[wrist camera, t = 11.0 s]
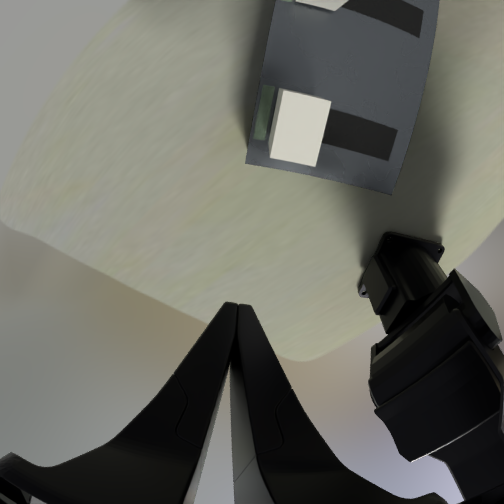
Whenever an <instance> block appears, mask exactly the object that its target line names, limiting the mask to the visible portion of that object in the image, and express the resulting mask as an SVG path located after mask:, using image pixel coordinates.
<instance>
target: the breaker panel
mask: <svg viewBox="0 0 504 504" xmlns="http://www.w3.org/2000/svg"><path fill="white" fill-rule="evenodd" d="M438 9H439V0H348V1H347V2H346V3H344V4H343V5H342V6H341V7H339V8H338V9H337V10H336V11H333V10H329V9H326V8H322V7H318V6H314V5H310V4H306V3H301V2H297V1H296V0H276V2H275V7H274V11H273V16H272V21H271V26H270V31H269V36H268V41H267V46H266V51H265V57H264V62H263V67H262V72H261V77H260V83H259V88H258V94H257V99H256V105H255V110H254V116H253V121H252V127H251V132H250V138H249V144H248V150H247V155H246V161H245V164H251V165H257V166H263V167H269V168H274V169H280V170H285V171H290V172H295V173H300V174H305V175H310V176H315V177H319V178H324V179H328V180H333V181H337V182H341V183H346V184H350V185H354V186H358V187H362V188H366V189H370V190H374V191H377V192H381V193H385V194H389V195H392V192H393V190H394V187H395V184H396V181H397V179H398V176H399V173H400V170H401V167H402V164H403V161H404V158H405V155H406V152H407V148H408V145H409V142H410V139H411V135H412V132H413V129H414V125H415V122H416V118H417V114H418V111H419V107H420V103H421V99H422V95H423V91H424V87H425V82H426V78H427V74H428V69H429V64H430V59H431V54H432V49H433V43H434V37H435V31H436V24H437V17H438ZM279 88H282V89H287V90H292V91H297V92H301V93H306V94H310V95H314V96H318V97H321V98H324V99H326V100H329V101H331V105H330V109H329V114H328V118H327V122H326V126H325V130H324V134H323V138H322V142H321V146H320V150H319V154H318V158H317V162H316V166H315V167H314V166H309V165H304V164H299V163H295V162H290V161H284V160H279V159H274V158H270V154H269V144H268V142H269V137H270V132H271V126H272V121H273V116H274V111H275V106H276V101H277V96H278V91H279Z"/></svg>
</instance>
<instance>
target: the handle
mask: <svg viewBox="0 0 504 504" xmlns="http://www.w3.org/2000/svg"><path fill="white" fill-rule="evenodd" d="M330 105H331V101H329V100H326V99H324V98H321V97H318V96H314V95H310V94H306V93H301V92H297V91H292V90H287V89H282V88H279V91H278V96H277V101H276V106H275V111H274V116H273V121H272V126H271V132H270V137H269V142H268V144H269V154H270V158H274V159H279V160H284V161H290V162H295V163H299V164H304V165H309V166H314V167H315V166H316V162H317V158H318V154H319V150H320V146H321V142H322V138H323V134H324V130H325V126H326V122H327V118H328V114H329V109H330Z"/></svg>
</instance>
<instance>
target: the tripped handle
mask: <svg viewBox="0 0 504 504" xmlns="http://www.w3.org/2000/svg"><path fill="white" fill-rule="evenodd" d="M296 1H297V2H301V3H306V4H310V5H314V6H318V7H322V8H326V9H329V10H333V11H336V10H337V9H338V8H339V7H341V6H342V5H343V4H344V3H346V2H347V1H348V0H296Z"/></svg>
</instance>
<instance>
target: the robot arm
mask: <svg viewBox="0 0 504 504" xmlns="http://www.w3.org/2000/svg"><path fill="white" fill-rule="evenodd" d="M389 237H391V238H390V239H389V240H387V239H388V238H389ZM439 249H440V250H439ZM444 250H445V248H444V246H443V245H442V244H440V243H436V242H432V241H428V240H424V239H420V238H416V237H411V236H407V235H403V234H398V233H394V232H386V233H385V234H384V235H383V237H382V239H381V242H380V244H379V246H378V248H377V251H376V253H375V255H374V256H373V257H372V259H371V261H370V263H369V266H368V268H367V270H366V272H365V274H364V276H363V278H362V283H361V285H360V287H359V289H358V293H359V296H360V297H364V298H369V299H370V302H371V304H372V307H373V310H374V312H375V314H376V315H379V316H380V319H381V321H382V324H383V327H384V330H385V332H386V334H388V335H387V336H386V337H385V338H384V339H383V340H382V341H380V342H379V343H376V344H375V345H373V346H372V347H371V364H370V379H369V380H368V384H369V388H370V395H371V398H372V401H373V403H374V405H375V406H376V409H375V410H374V412H375V414H376V415H377V416H378V417H379V418H380V419H381V420H382V421H383V422H384V423H385V425H386V427H387V428H388V430H389V431H390V433H391V435H392V437H393V439H394V442H395V444H396V446H397V449H398V451H399V454H400V455H402V456H403V457H404V458H405V459H407V460H408V461H409V462H414V461H416V460H418V459H420V458H422V457H424V456H426V455H429V456H431V457H433V458H435V459H438V460H440V461H442V462H444V463H445V464H446V465H447V467H448V468H449V470H450V472H451V474H452V476H453V478H454V480H455V482H456V484H457V486H458V488H459V490H460V492H461V494H462V497H463V499H464V501H463V502H461V503H458V504H504V354H503V353H502V351H501V350H500V347H499V346H498V344H499V343H500V342H501V341H502V336H501V332H500V329H499V326H498V323H497V319H496V316H495V313H494V312H493V310H492V308H491V307H490V305H489V304H488V303H487V301H486V300H485V298H484V297H483V296H482V294H481V293H480V292H479V291H478V290H477V289H476V288H475V287H474V286H473V285H472V284H471V283H470V282H469V281H468V280H467V279H466V278H464V277H463V276H462V275H461V274H460V273H459V272H458V271H457V270H456V269H453V270H452V271H451V272H450V274H449V277H448V278H447V276H446V275H445V273H444V272H443V270H442V269H441V267H440V266H439V264H438V262H439V260H440V258H441V256H442V255H443V253H444ZM363 291H365V292H363ZM229 365H230V408H231V437H232V460H233V461H232V462H233V482H234V501H235V504H448V503H447V501H445V500H444V499H443V498H442V497H440V496H439V495H438V494H436V493H434V492H433V493H429V494H426V495H424V496H421V497H418V498H414V499H405V498H401V497H398V496H395V495H393V494H391V493H389V492H388V491H386V490H384V489H382V488H380V487H378V486H377V485H375V484H373V483H371V482H369V481H368V480H366V479H364V478H363V477H361V476H359V475H357V474H356V473H354V472H353V471H351V470H349V469H348V468H347V467H346V466H344V465H343V464H342V463H341V462H340V461H339V459H338V458H337V457H336V456H335V454H334V453H333V452H332V450H331V449H330V448H329V446H328V445H327V443H326V442H325V441H324V439H323V438H322V436H321V435H320V434H319V432H318V431H317V429H316V428H315V427H314V425H313V423H312V422H311V420H310V419H309V417H308V416H307V414H306V413H305V411H304V409H303V408H302V406H301V404H300V402H299V400H298V398H297V397H296V394H295V392H294V391H293V389H291V385H290V383H289V381H288V379H287V377H286V375H285V373H284V371H283V369H282V367H281V365H280V363H279V361H278V359H277V357H276V355H275V353H274V351H273V349H272V347H271V345H270V343H269V341H268V338H267V336H266V334H265V332H264V330H263V328H262V326H261V324H260V322H259V320H258V318H257V316H256V314H255V312H254V310H253V308H252V306H251V305H247V304H239V305H238V304H237V303H233V302H225V303H224V304H223V305H222V307H221V308H220V309H219V311H218V312H217V314H216V315H215V316H214V318H213V319H212V321H211V322H210V323H209V325H208V326H207V328H206V329H205V330H204V332H203V333H202V334H201V336H200V337H199V339H198V340H197V341H196V343H195V344H194V345H193V347H192V348H191V350H190V351H189V352H188V354H187V355H186V356H185V358H184V359H183V361H182V362H181V363H180V365H179V366H178V368H177V369H176V370H175V372H174V374H172V376H171V377H170V378H169V380H168V381H167V382H166V384H165V385H164V386H163V387H162V389H161V390H160V391H159V393H158V394H157V395H156V396H155V397H154V398H153V400H152V401H151V402H150V403H149V404H148V405H147V406H146V407H145V408H144V409H143V410H142V411H141V412H140V413H139V414H138V415H137V416H136V417H135V418H134V419H133V420H132V421H131V422H130V423H129V424H128V425H127V426H126V427H125V428H124V429H123V430H122V431H121V432H120V433H119V434H117V435H116V436H115V437H114V438H113V439H111V440H110V441H109V442H107V443H106V444H104V445H102V446H100V447H98V448H96V449H94V450H91V451H89V452H87V453H85V454H82V455H80V456H78V457H76V458H73V459H71V460H69V461H66V462H64V463H61V464H59V465H56V466H52V467H41V466H37V465H34V464H32V463H30V462H28V461H27V460H25V459H23V458H22V457H20V456H18V455H16V454H14V453H12V452H10V453H9V454H7V455H5V456H4V457H2V458H1V459H0V504H193V503H194V499H195V496H196V492H197V488H198V485H199V481H200V477H201V473H202V470H203V466H204V462H205V458H206V454H207V451H208V447H209V443H210V439H211V435H212V432H213V428H214V424H215V420H216V416H217V413H218V409H219V405H220V401H221V397H222V393H223V389H224V386H225V382H226V378H227V374H228V370H229Z"/></svg>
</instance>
